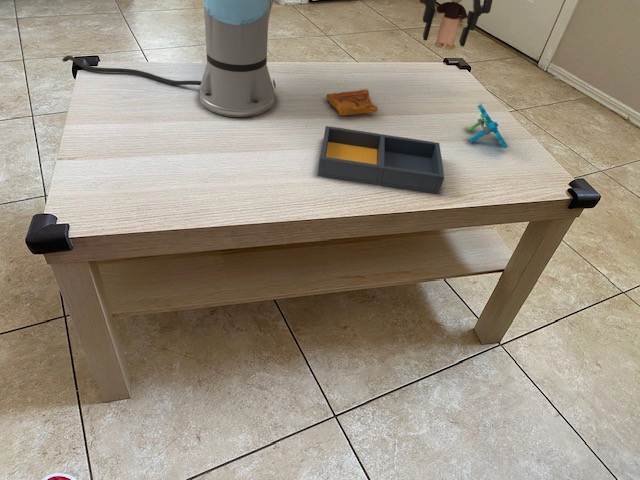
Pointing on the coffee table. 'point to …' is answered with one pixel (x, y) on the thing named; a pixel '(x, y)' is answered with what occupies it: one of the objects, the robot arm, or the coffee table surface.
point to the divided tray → (381, 160)
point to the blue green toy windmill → (486, 127)
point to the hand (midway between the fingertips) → (443, 40)
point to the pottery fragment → (352, 102)
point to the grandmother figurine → (449, 23)
